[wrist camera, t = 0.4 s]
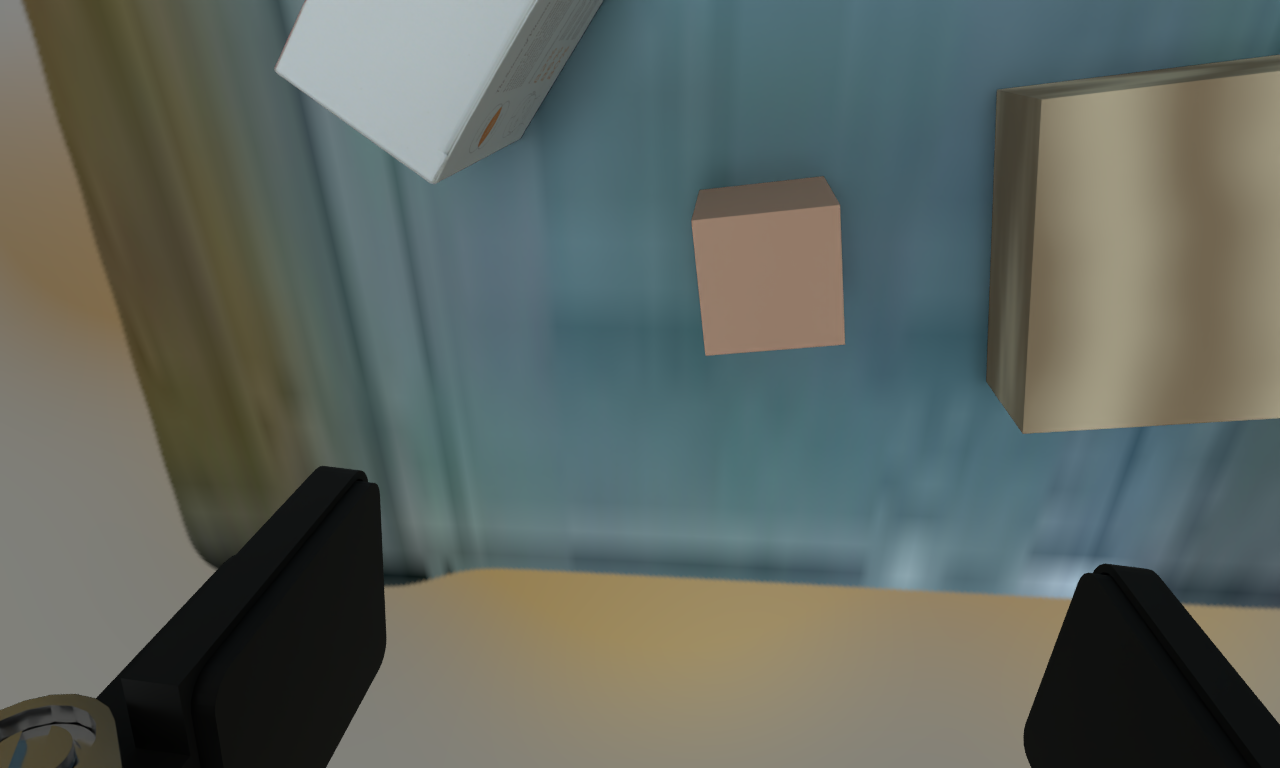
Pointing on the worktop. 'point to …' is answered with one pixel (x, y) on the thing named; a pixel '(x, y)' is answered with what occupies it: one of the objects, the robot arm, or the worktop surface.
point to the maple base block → (1137, 249)
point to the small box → (433, 71)
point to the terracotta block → (769, 266)
